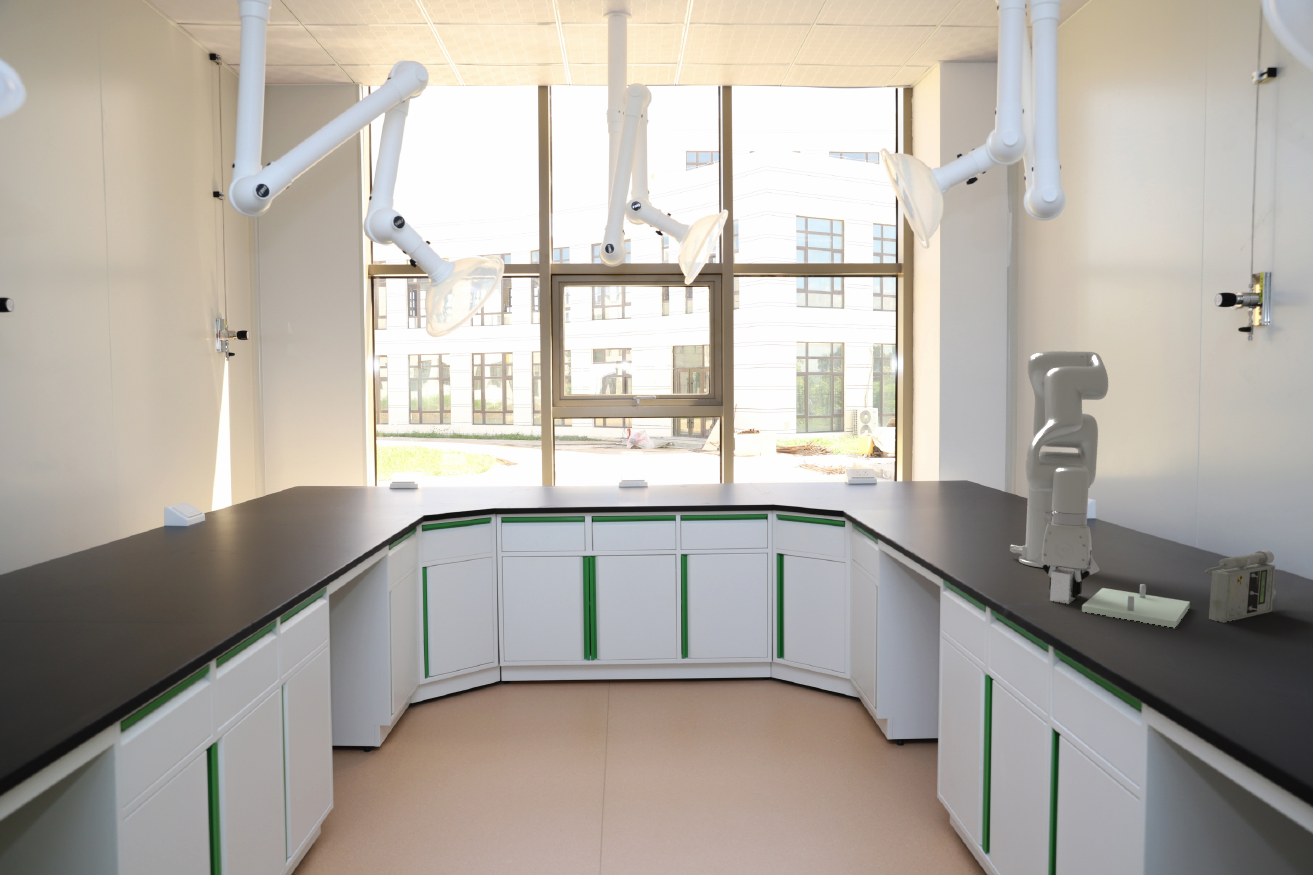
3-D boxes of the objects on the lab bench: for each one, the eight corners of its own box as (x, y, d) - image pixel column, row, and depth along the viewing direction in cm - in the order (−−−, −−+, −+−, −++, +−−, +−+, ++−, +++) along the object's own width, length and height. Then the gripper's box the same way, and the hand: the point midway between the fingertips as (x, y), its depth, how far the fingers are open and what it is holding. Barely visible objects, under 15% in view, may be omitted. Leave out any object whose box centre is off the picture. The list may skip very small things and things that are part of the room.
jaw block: (1050, 600, 195) (1051, 571, 194) (1061, 592, 202) (1062, 564, 202) (1068, 604, 192) (1069, 574, 191) (1079, 595, 200) (1080, 566, 199)
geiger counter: (1232, 560, 176) (1294, 550, 188) (1201, 554, 182) (1263, 544, 194) (1227, 624, 178) (1289, 609, 189) (1197, 616, 183) (1258, 602, 195)
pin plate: (1081, 611, 186) (1082, 592, 185) (1102, 593, 201) (1103, 575, 201) (1175, 628, 174) (1176, 607, 174) (1189, 608, 190) (1190, 588, 189)
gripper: (1027, 516, 198) (1023, 591, 200) (1104, 525, 187) (1100, 604, 189) (1036, 513, 204) (1032, 585, 205) (1111, 521, 193) (1107, 598, 195)
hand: (1065, 594), depth 197 cm, fingers closed on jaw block, 4 cm apart
